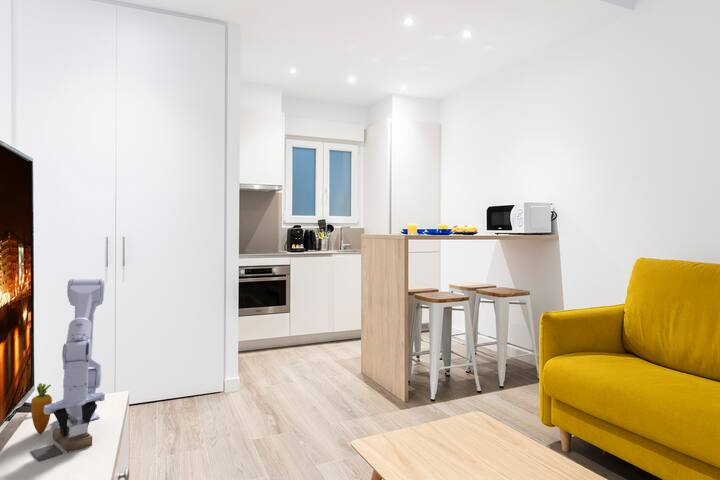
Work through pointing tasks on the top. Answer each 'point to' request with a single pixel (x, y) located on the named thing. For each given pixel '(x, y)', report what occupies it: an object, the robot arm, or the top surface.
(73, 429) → the lever cap
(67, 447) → the body
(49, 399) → the carrot
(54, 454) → the rubber mat
